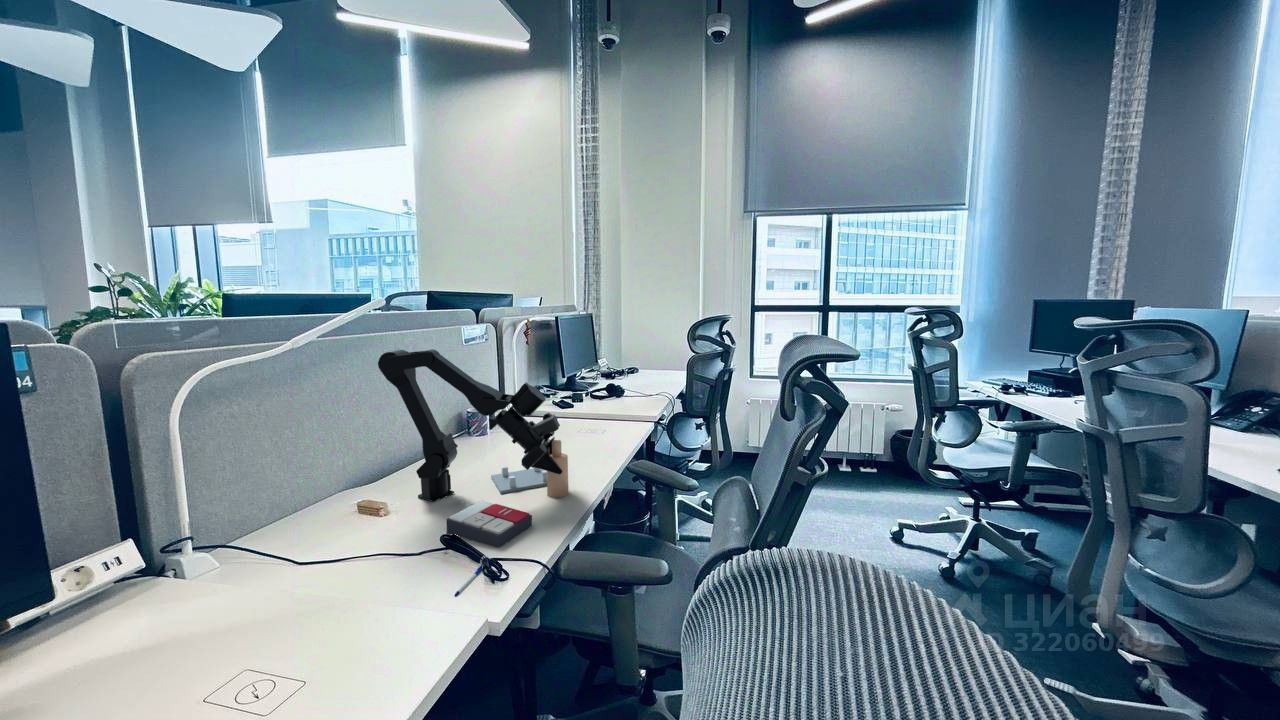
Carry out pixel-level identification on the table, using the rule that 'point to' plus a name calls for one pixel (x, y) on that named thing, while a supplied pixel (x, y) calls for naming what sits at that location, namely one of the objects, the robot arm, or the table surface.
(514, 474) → the plate
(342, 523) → the table surface
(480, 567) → the ballpoint pen
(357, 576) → the table surface
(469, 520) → the calculator
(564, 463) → the tan bottle
